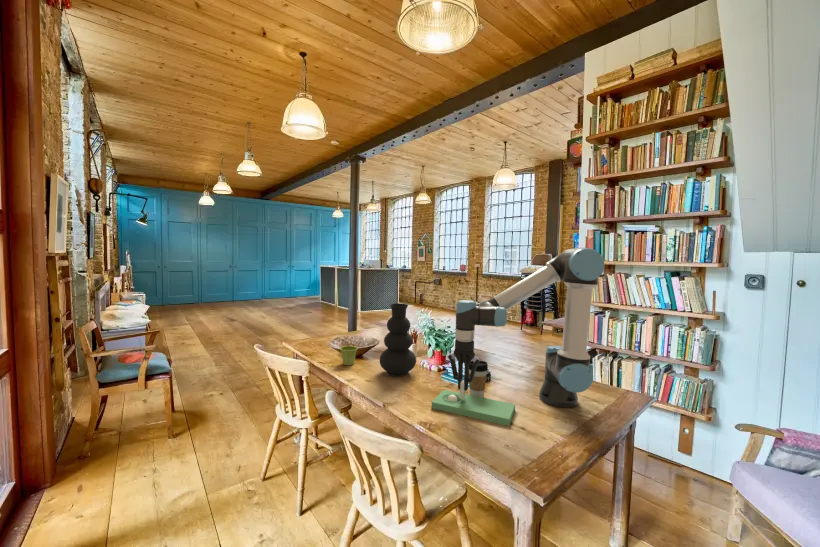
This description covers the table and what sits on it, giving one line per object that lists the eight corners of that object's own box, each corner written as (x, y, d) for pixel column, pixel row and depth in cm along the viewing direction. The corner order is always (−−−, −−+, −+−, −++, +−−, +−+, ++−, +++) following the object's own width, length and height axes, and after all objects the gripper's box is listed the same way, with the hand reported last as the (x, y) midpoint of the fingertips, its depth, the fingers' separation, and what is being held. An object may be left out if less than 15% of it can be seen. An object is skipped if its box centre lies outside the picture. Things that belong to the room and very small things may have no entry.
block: (515, 410, 138) (515, 404, 138) (509, 426, 125) (509, 419, 125) (443, 395, 150) (443, 389, 150) (431, 408, 138) (431, 402, 138)
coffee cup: (486, 401, 145) (488, 366, 144) (466, 399, 147) (467, 364, 146) (486, 393, 153) (487, 360, 152) (467, 391, 155) (468, 358, 154)
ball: (453, 392, 144) (448, 400, 144) (449, 392, 141) (444, 400, 141) (460, 399, 142) (455, 407, 142) (457, 399, 138) (451, 407, 139)
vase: (403, 383, 163) (405, 309, 161) (371, 375, 172) (373, 305, 170) (422, 371, 179) (424, 304, 177) (392, 365, 188) (393, 300, 186)
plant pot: (351, 360, 195) (352, 344, 195) (360, 364, 188) (360, 348, 187) (336, 363, 189) (336, 347, 189) (345, 367, 182) (345, 351, 181)
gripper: (483, 339, 138) (480, 397, 140) (451, 335, 144) (450, 390, 146) (478, 343, 132) (476, 404, 133) (445, 339, 137) (444, 397, 139)
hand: (462, 397), depth 139 cm, fingers closed
